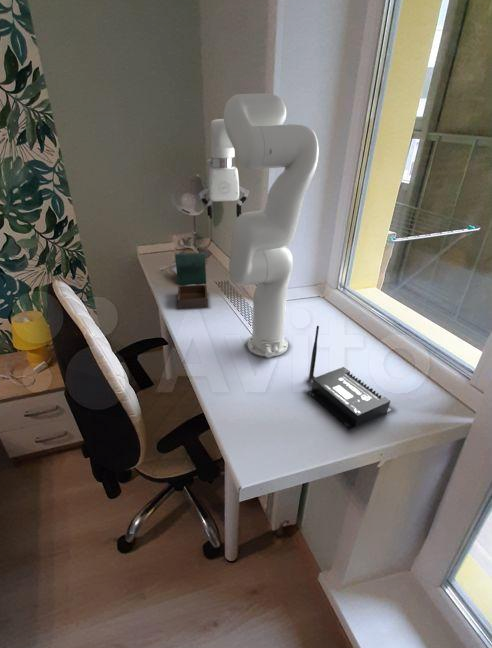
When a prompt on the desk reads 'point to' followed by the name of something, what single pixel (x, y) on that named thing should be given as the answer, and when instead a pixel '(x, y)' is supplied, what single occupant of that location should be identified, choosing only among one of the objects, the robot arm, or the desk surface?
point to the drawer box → (192, 297)
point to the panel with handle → (190, 268)
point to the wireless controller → (345, 395)
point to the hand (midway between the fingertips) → (224, 217)
